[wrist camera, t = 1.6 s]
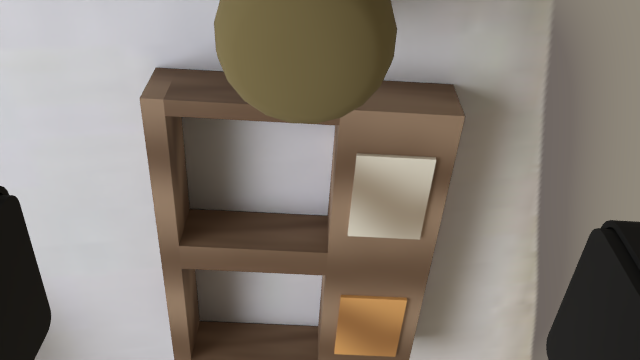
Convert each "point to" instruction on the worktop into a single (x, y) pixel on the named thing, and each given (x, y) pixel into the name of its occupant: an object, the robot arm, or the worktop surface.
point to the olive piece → (305, 54)
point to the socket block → (309, 222)
